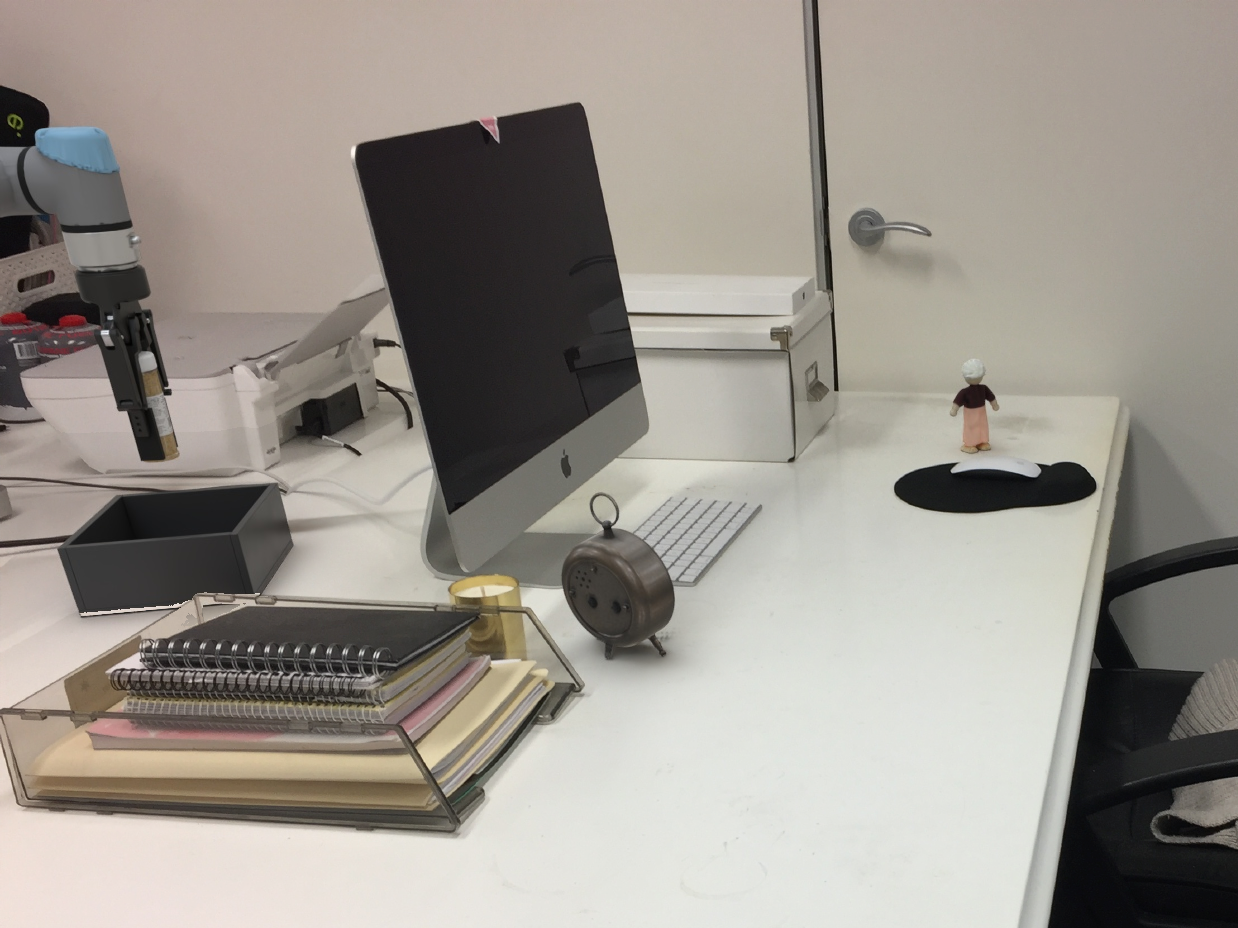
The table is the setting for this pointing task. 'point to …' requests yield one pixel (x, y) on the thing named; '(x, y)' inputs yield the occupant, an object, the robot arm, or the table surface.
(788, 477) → the table surface
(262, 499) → the basket
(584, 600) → the alarm clock
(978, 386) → the grandmother figurine
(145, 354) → the sprinkles bottle
